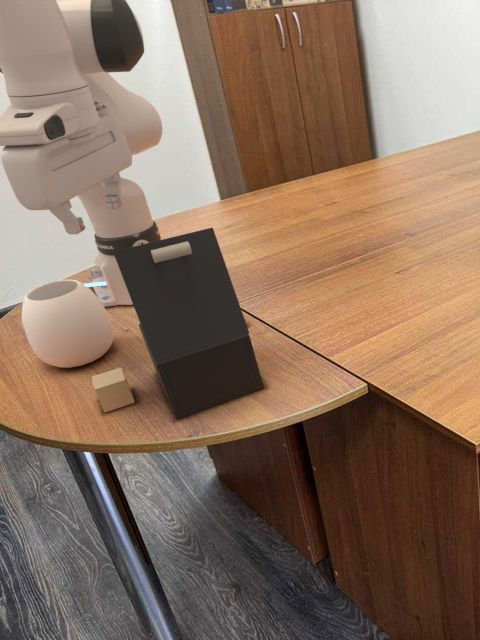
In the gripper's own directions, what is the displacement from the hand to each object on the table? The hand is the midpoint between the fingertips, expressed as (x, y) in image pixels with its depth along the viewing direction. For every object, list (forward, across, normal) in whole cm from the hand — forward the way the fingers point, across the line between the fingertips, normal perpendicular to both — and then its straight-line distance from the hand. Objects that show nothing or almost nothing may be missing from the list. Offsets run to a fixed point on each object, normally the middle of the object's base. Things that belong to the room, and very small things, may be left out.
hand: (97, 219), depth 89 cm
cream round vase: (+31, -13, -23) cm, 40 cm away
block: (+30, 0, -8) cm, 31 cm away
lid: (+12, -2, +8) cm, 15 cm away
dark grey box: (+30, -5, +5) cm, 31 cm away
